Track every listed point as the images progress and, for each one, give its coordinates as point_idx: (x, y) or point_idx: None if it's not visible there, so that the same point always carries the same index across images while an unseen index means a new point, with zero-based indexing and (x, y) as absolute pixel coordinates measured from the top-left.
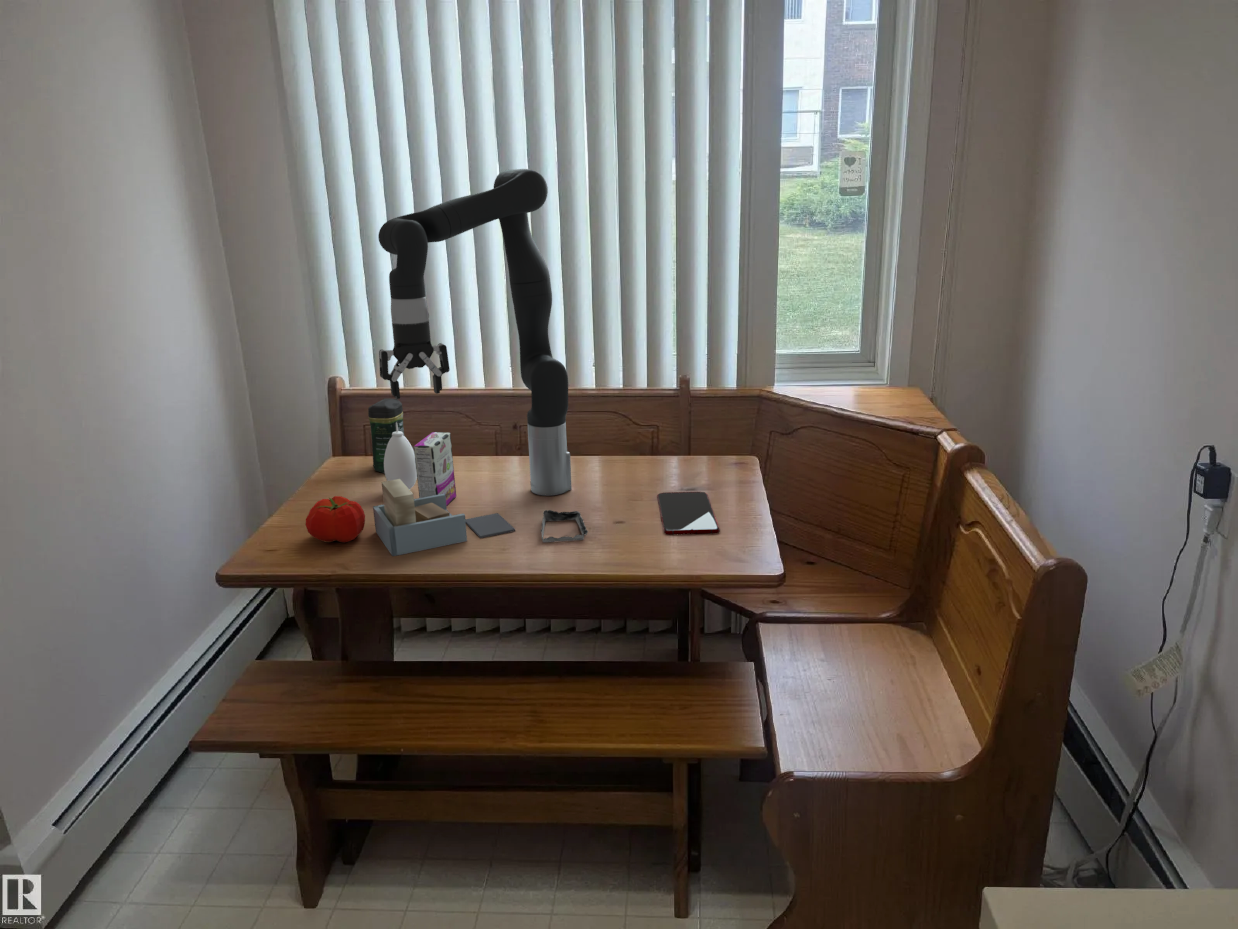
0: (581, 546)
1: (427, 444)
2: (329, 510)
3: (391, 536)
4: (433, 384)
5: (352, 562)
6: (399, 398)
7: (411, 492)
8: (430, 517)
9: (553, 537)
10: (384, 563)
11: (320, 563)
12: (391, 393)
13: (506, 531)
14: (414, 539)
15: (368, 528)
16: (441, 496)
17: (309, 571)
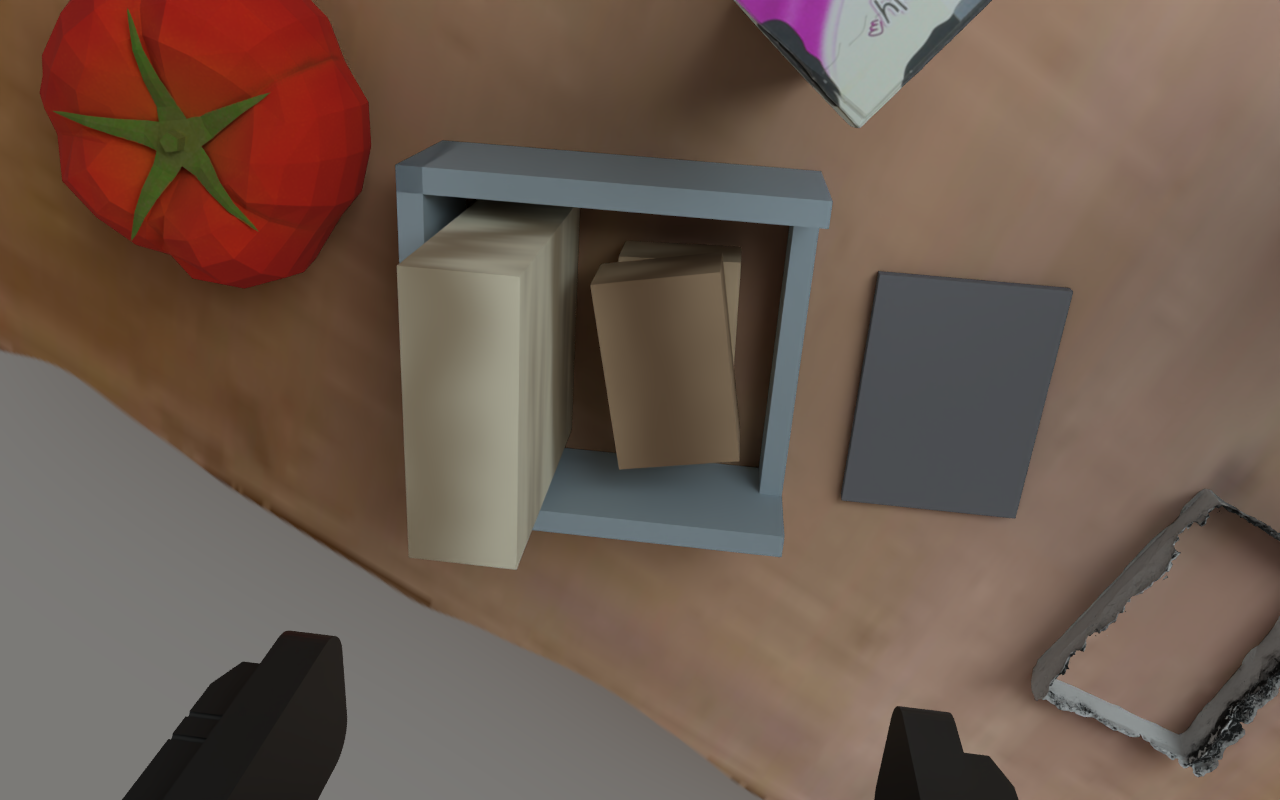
0: (1127, 773)
1: (850, 38)
2: (132, 214)
3: None
4: (915, 794)
5: (290, 415)
6: (337, 736)
7: (514, 541)
8: (632, 465)
9: (1074, 706)
10: (405, 494)
11: (168, 351)
12: (217, 685)
13: (970, 512)
14: None
15: (419, 65)
16: (802, 226)
17: (125, 399)
